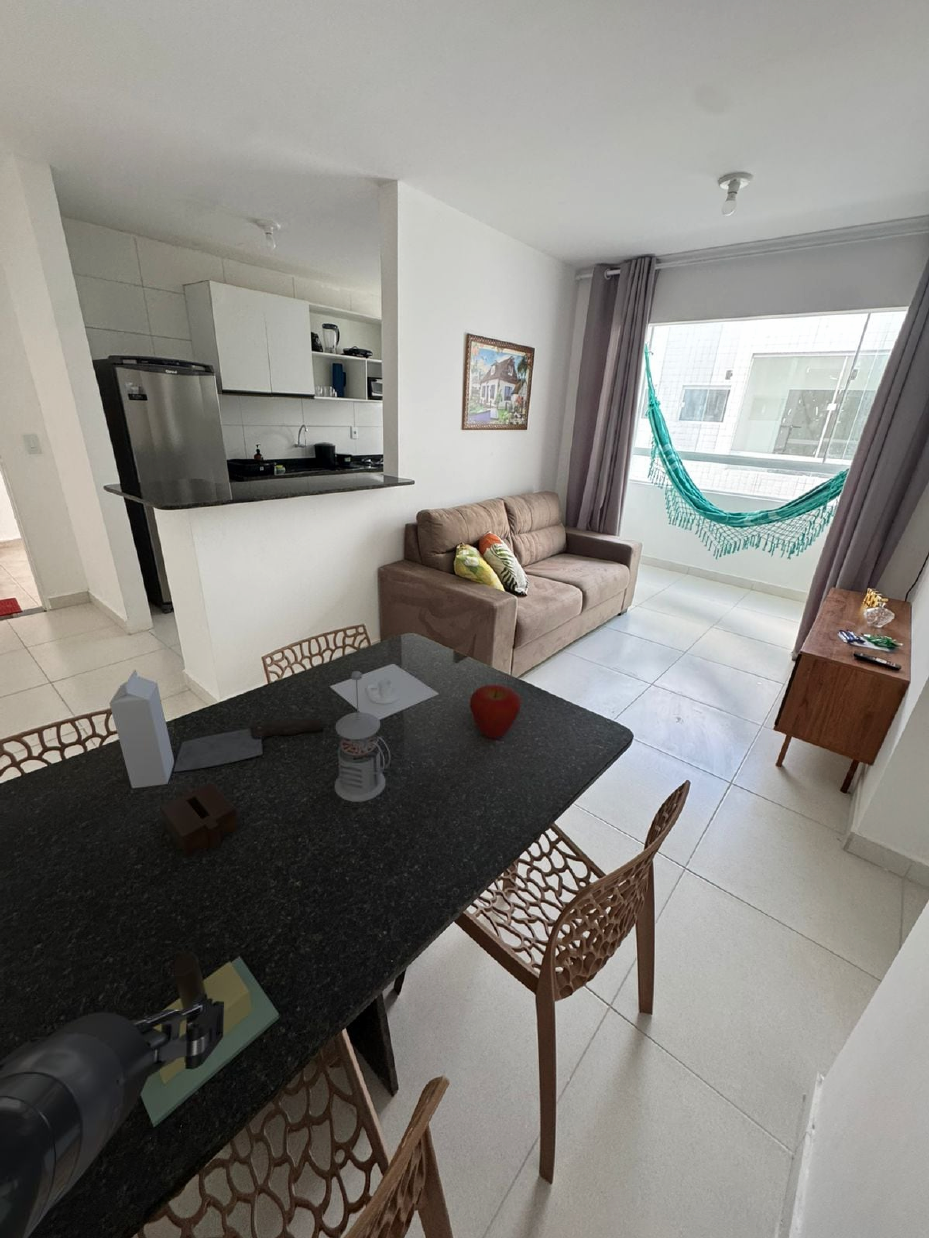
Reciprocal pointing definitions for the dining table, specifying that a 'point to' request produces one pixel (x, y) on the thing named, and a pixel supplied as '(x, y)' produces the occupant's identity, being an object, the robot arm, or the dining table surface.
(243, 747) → the cleaver
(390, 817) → the dining table surface
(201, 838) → the knife block
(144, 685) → the milk
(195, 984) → the wood-handled utensil
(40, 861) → the dining table surface
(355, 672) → the french press
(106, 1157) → the dining table surface
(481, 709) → the apple
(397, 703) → the teacup and saucer
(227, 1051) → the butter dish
